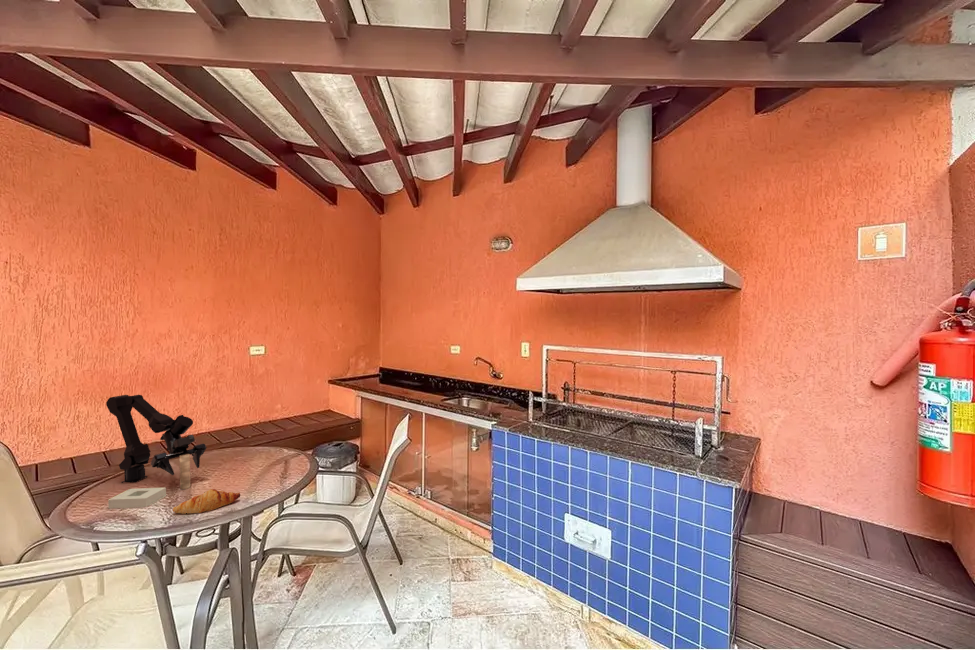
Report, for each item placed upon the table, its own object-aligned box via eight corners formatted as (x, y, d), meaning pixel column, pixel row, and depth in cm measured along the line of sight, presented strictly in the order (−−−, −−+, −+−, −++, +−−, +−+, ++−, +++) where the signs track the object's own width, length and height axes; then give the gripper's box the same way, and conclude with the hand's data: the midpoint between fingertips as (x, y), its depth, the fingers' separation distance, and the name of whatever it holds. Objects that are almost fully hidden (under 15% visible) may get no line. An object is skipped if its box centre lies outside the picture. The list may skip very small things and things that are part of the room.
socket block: (108, 508, 152) (108, 499, 152) (130, 497, 162) (130, 488, 162) (146, 507, 153) (146, 498, 153) (166, 496, 163) (166, 487, 163)
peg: (178, 489, 169) (177, 456, 169) (184, 486, 172) (183, 454, 172) (186, 489, 169) (185, 456, 169) (192, 486, 173) (191, 453, 172)
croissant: (172, 527, 144) (169, 512, 141) (174, 505, 152) (172, 490, 148) (241, 510, 155) (240, 496, 152) (240, 490, 163) (239, 476, 159)
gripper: (153, 435, 165) (165, 466, 159) (204, 425, 181) (216, 453, 175) (145, 451, 169) (157, 482, 163) (196, 440, 185) (208, 468, 179)
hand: (186, 471), depth 170 cm, fingers open, 9 cm apart
